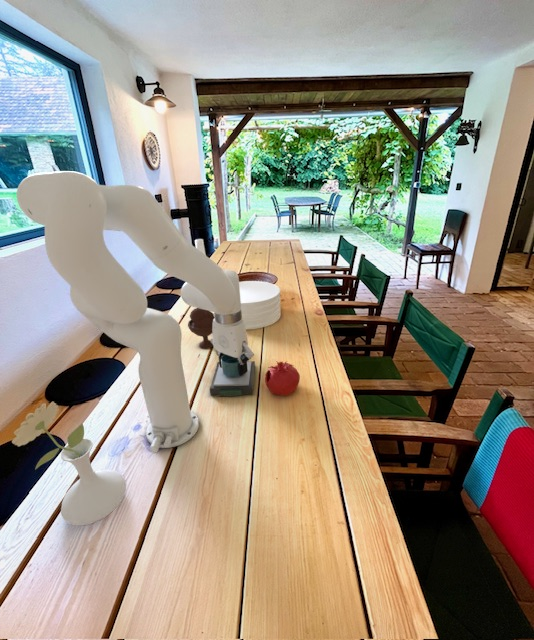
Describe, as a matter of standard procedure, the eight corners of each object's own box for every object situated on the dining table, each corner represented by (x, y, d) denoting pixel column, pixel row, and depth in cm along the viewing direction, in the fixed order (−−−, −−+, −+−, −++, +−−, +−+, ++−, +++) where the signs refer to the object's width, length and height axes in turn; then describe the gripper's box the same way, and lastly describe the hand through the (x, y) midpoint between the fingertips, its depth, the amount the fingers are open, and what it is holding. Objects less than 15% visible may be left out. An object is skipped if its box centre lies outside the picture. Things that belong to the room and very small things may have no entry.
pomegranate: (305, 384, 95) (305, 357, 91) (289, 403, 87) (289, 374, 83) (275, 375, 100) (275, 349, 96) (258, 393, 92) (257, 365, 88)
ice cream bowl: (215, 353, 113) (210, 314, 107) (186, 351, 115) (180, 312, 109) (225, 339, 123) (221, 302, 116) (197, 337, 125) (192, 301, 119)
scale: (252, 396, 90) (251, 387, 89) (210, 397, 91) (208, 388, 89) (255, 367, 104) (254, 359, 103) (218, 368, 104) (217, 360, 103)
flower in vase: (111, 467, 70) (78, 370, 60) (139, 496, 63) (108, 393, 53) (44, 513, 61) (-8, 408, 51) (69, 553, 54) (15, 441, 44)
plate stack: (206, 326, 133) (203, 301, 128) (229, 302, 158) (227, 279, 153) (272, 332, 127) (271, 305, 122) (285, 305, 151) (285, 282, 147)
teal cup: (244, 377, 93) (243, 363, 91) (221, 378, 94) (219, 363, 91) (246, 365, 100) (244, 351, 97) (224, 365, 100) (222, 351, 98)
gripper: (196, 313, 91) (204, 366, 98) (243, 328, 81) (247, 385, 89) (215, 304, 96) (221, 355, 104) (261, 317, 87) (264, 372, 94)
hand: (233, 369), depth 96 cm, fingers closed on teal cup, 7 cm apart
